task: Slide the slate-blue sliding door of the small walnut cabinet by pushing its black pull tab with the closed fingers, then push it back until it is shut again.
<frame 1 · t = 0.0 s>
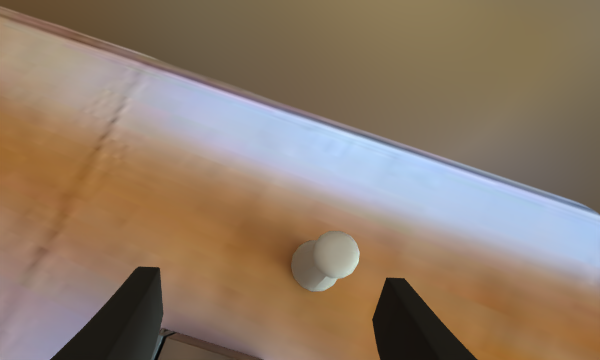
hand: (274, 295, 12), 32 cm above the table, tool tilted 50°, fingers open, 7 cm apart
salt shaker: (312, 267, 44), on the table
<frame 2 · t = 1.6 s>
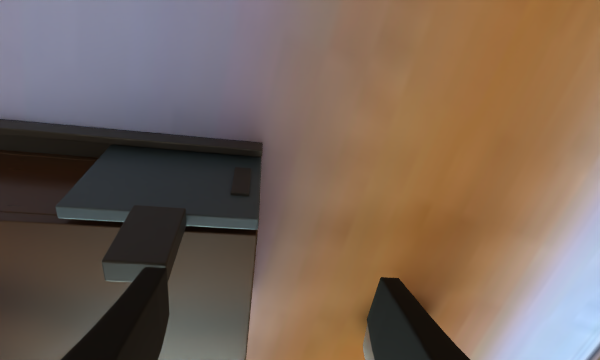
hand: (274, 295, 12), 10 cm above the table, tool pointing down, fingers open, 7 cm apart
door: (168, 198, 15), point 5 cm above the table, slide at 0.0 cm
cabinet: (130, 230, 22), on the table
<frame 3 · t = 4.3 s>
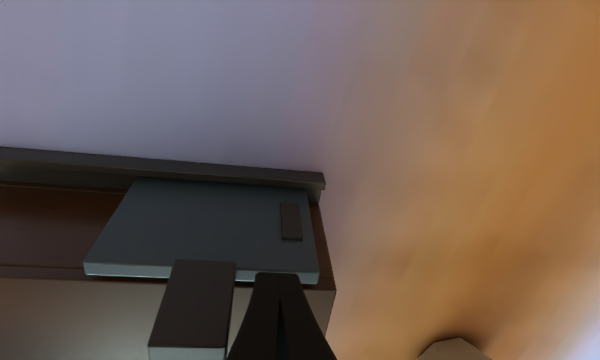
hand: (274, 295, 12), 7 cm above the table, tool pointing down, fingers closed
door: (211, 245, 13), point 5 cm above the table, slide at 0.8 cm, touching gripper
cabinet: (169, 266, 20), on the table
salt shaker: (445, 353, 26), on the table
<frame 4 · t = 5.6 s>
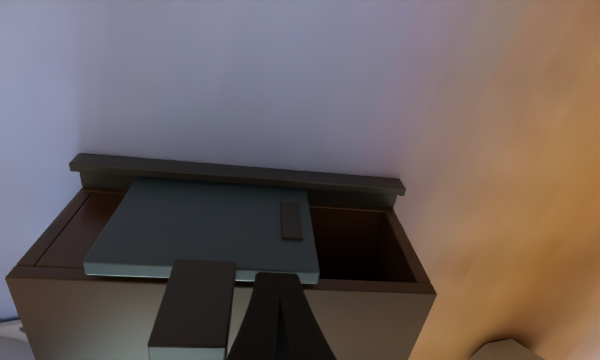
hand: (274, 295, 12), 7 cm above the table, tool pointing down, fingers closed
door: (211, 245, 13), point 5 cm above the table, slide at 4.7 cm, touching gripper
cabinet: (241, 269, 20), on the table
salt shaker: (495, 354, 27), on the table
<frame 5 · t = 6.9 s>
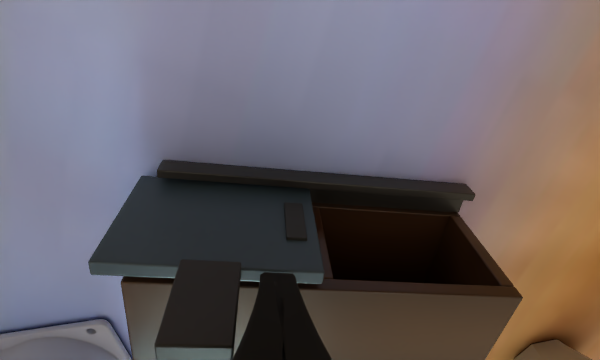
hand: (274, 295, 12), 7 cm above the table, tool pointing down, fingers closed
door: (215, 245, 13), point 5 cm above the table, slide at 8.1 cm, touching gripper
cabinet: (304, 272, 21), on the table
salt shaker: (538, 354, 27), on the table
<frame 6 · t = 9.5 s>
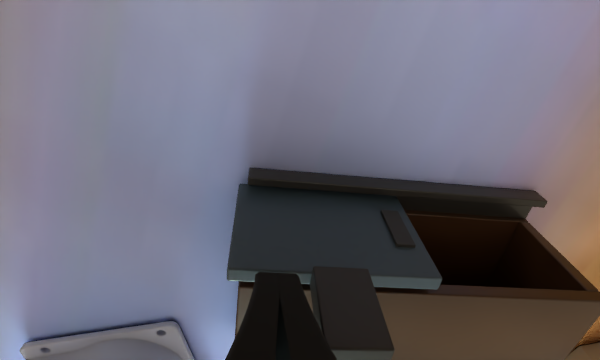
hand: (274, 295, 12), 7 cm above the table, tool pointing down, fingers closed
door: (333, 252, 14), point 5 cm above the table, slide at 7.6 cm, touching gripper
cabinet: (370, 276, 21), on the table
salt shaker: (584, 356, 28), on the table
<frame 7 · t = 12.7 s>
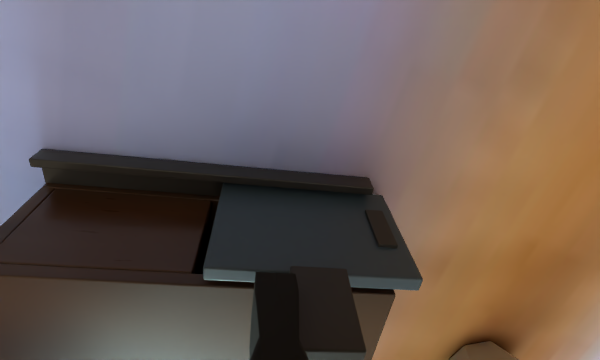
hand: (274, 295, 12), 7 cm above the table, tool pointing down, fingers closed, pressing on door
door: (313, 252, 14), point 5 cm above the table, slide at -0.8 cm, touching gripper
cabinet: (212, 268, 20), on the table
salt shaker: (474, 356, 26), on the table
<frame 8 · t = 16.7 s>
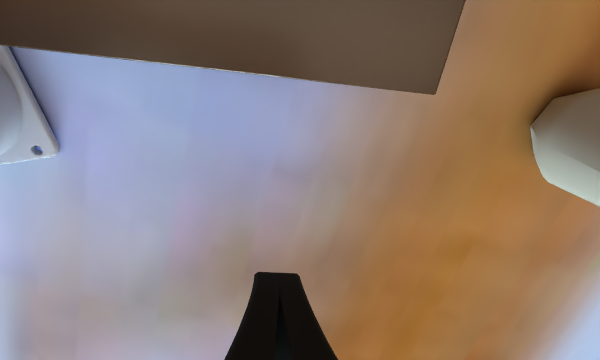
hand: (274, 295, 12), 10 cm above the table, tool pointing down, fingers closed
salt shaker: (561, 124, 21), on the table
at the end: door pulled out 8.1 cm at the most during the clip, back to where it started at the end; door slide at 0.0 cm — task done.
